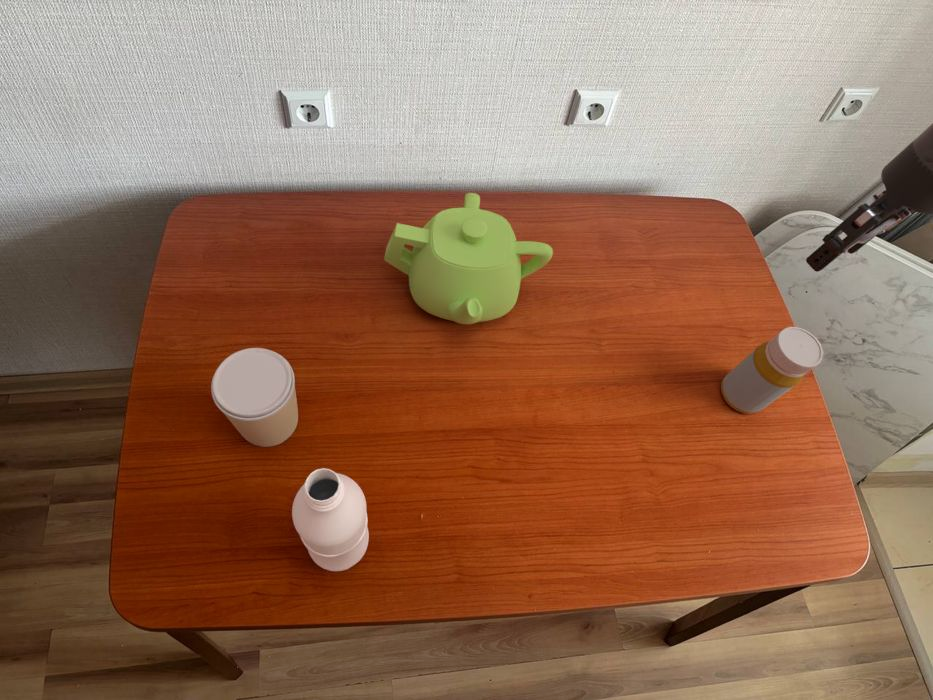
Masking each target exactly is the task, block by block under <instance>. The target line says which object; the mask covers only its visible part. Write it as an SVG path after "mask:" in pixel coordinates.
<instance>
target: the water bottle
mask: <svg viewBox="0 0 933 700" xmlns="http://www.w3.org/2000/svg"><path fill="white" fill-rule="evenodd" d="M291 508H292V509H291V519H292V522H293V527H294V528H295V530H296V532H297V533H298V535H299V538H300V540H301V542H302V543H303V545H304V546H305V548H306V549H307V551H308V554H309V556H310V558H311V560H312V561H313V562H314V563H315V565H317V566H319V567H320V568H322V569H323V570H325V571H326V570H327V571H330V572H342V571H346V570H349V569H350V568H352V567H354V566H355V565H356V564H358V563H359V562H360V561H361V560H362V559H363V557H364V556H365V554H366V552H367V549H368V546H369V541H370V540H369V539H370V534H369V527H368V523H369V521H368V518H369V517H368V513H367V501H366V497H365V495H364V492H363V490H362V488H361V487H360V486H359V484H358V483H357V482H356V481H355V480H353V479H352V478H351V477H349V476H347V475H346V474H342V473H339V472H336V471H334V470H332V469H330V468H325V467H321V468H317V469H315V470H313V471H312V472H311V473H310V474H309V475H308V476H307V477H306V480H305V481H304V484H302V486H301V487H300V488H299V489H298V491H297V492H296V494H295V497H294V499H293V502H292V507H291Z"/></svg>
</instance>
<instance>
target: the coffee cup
mask: <svg viewBox="0 0 933 700" xmlns="http://www.w3.org/2000/svg"><path fill="white" fill-rule="evenodd" d="M294 373H295V372H294V371H293V368H292V366H291V364H290V362H289V361H288V360H287V359H286V358H285V357H284V356H283V355H281V354H280V353H278V352H276V351H273V350H270V349H267V348H262V347H250V348H245V349H241V350H238V351H236V352H234V353H231V354H230V355H229V356H228V357H226V358H225V359H224V360H223V361H222V362H221V363H220V364H219V365H218V367H217V368H216V370H215V372H214V374H213V375H212V380H211V385H210V393H211V397H212V400H213V402H214V404H215V405H216V407H217V408H218V409H219V410H220V412H222V413H223V415H225V416H226V418H227V419H228V420H229V422H230V423H231V424H232V425H233V427H234V428H235V430H237V431H238V433H239V435H241V437H243V438H244V440H246V441H247V442H249V443H250V444H251V445H254V446H256V447H257V446H258V447H263V448H269V447H274V446H277V445H280V444H282V443H284V442H286V440H288V439H290V437H291V436H292V435H293V434H294V432H295V430H296V428H297V426H298V424H299V423H298V422H299V407H298V398H297V394H296V393H297V392H296V385H295V383H296V381H295V379H296V377H295V374H294Z"/></svg>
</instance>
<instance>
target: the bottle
mask: <svg viewBox="0 0 933 700" xmlns="http://www.w3.org/2000/svg"><path fill="white" fill-rule="evenodd" d="M823 359H824V349H823V346H822V344H821V342H820V340H819V339H818V338H817V337H816V336H815V335H814V334H812V332H810V331H808V330H807V329H805V328H803V327H798V326H787V327H785V328H783V329H782V330H780V331H779V332H778V333H777V334H776V335H775V336H773V337H772V338H771V339H769V340H767V341H765V342H762V343H761V344H759V346H758V347H756V348H755V349H754V350H753V351H751V353H749V355H747V356H746V357H745V358H744V359H743V360H741V362H740V363H738V364H737V365H736V366H735V367H734V368H733V369H731V370H730V371H729V372H728V373H727V374H726V375H725V376H724V377H723V379H722V381H721V383H720V392H721V395H722V397H723V399H724V400H725V402H726V403H727V405H729V406H730V407H731V408H732V409H733V410H735V411H736V412H739V413H742V414H746V415H754V414H757V413H759V412H761V411H762V410H764V409H765V408H767V407H768V406H769V405H770V404H772V403H773V402H775V401H776V400H778V399H779V398H781V396H782V397H783V395H784V394H786V393H787V392H789V391H790V390H792V389H793V388H794V387H795V386H797V385H798V384H799V383H800V382H801V381H803V380H804V377H805V375H806V374H808V373H809V372H811V371H812V370H813V369H814V368H816V367H818V365H820V363H821V362H822V361H823Z"/></svg>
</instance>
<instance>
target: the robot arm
mask: <svg viewBox="0 0 933 700" xmlns="http://www.w3.org/2000/svg"><path fill="white" fill-rule="evenodd" d="M880 176H881V177H880V178H881V182H882V184H883V185H884V188H885V189H884V190H882V192H880V193H879V194H876V193H875V194H873V195H872V196H870V197H869V198H868V199H867V200H865V201H864V202H863V204H860V205H859V206H858V207H857V209H856V210H855V211H853V212H852V213H850V215H849V216H848V217H846V218H845V219H844V220H843V221H842V222H841V223H839V224H838V225H837V226H836V227H835V228H834V229H833V230H831V231H830V232H829V233H827V234H825V235H823V238H822V239H821V241H822V242H823V243H822V244H821V245H820V246H818V248H816V249H815V250H814V251H813V252H812V253H811V254H810V255H808V256H807V257H806V258H805V261H806V264H807V265H808V266H809V267H810V268H811V269H812V270H813V271H814V272H817V273H819V272H821V271H822V270H824V269H825V268H826V267H827V266H829V265H830V264H831V263H832V262H834V261H835V260H836V259H837V258H838V257H840V256H841V255H842V254H846V253H848V254H855V253H856V252H858V251H859V250H860V249H861V248H863V247H864V246H865V245H867V244H869V242H870V241H871V240H873V239H874V238H875V237H876V236H877V235H882V234H884V233H885V232H886V231H890V230H891V229H893V228H894V227H896V226H898V225H899V223H902V222H903V221H904V220H906V219H907V218H909V217H910V216H911V215H912V211H913V212H915V213H917V214H922V215H933V122H932V123H931V124H930V125H929V126H928V127H927V128H925V129H924V130H923V131H922V132H921V133H920V134H919V135H918V136H917V137H915V138H914V139H913V140H912V141H911V142H909V144H908V145H907V146H906V147H905V148H904V149H902V150H901V151H900V152H899V153H898V154H896V156H895V157H893V159H891V160H890V161H889V162H888V163H887V164H886V165H884V167H883V168H882V170H881V173H880ZM843 233H844V234H845V235H846V236H845V237H844V238H843V239H842V238H841V237H840V236H841V235H842V234H843Z"/></svg>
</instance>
